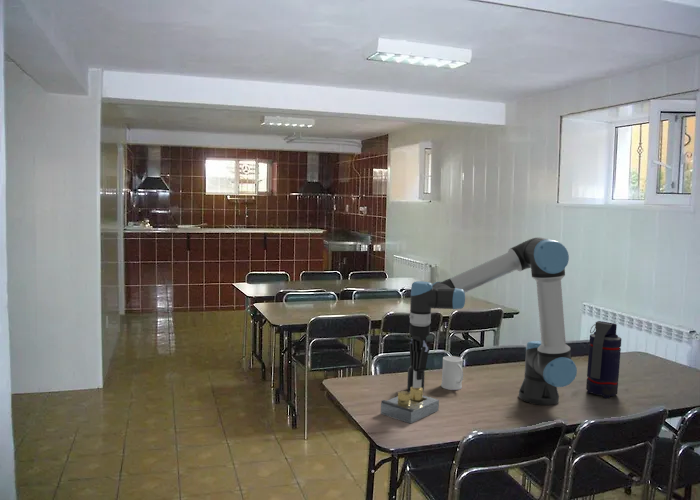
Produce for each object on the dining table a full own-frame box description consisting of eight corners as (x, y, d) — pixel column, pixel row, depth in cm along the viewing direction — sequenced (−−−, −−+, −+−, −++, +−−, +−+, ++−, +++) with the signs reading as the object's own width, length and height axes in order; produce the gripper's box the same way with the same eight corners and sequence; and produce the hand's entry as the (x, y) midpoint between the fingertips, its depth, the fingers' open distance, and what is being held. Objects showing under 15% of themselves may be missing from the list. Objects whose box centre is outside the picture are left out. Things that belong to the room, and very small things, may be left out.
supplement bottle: (426, 389, 239) (427, 360, 238) (420, 394, 233) (422, 364, 232) (410, 386, 242) (411, 358, 241) (404, 391, 236) (405, 362, 235)
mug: (469, 391, 238) (471, 363, 237) (450, 393, 235) (452, 364, 234) (455, 383, 249) (456, 355, 248) (437, 384, 246) (438, 356, 245)
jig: (438, 410, 215) (439, 389, 214) (410, 423, 201) (411, 401, 201) (409, 401, 223) (410, 381, 223) (380, 413, 210) (381, 392, 209)
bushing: (424, 409, 216) (425, 388, 215) (417, 412, 212) (418, 391, 212) (413, 406, 219) (414, 385, 218) (406, 409, 215) (407, 388, 215)
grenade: (593, 387, 249) (598, 318, 247) (621, 394, 241) (627, 322, 238) (578, 394, 239) (583, 322, 237) (608, 402, 231) (613, 327, 228)
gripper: (402, 320, 218) (400, 382, 220) (418, 328, 205) (415, 393, 207) (421, 320, 220) (418, 381, 222) (437, 327, 208) (434, 392, 210)
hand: (417, 387), depth 215 cm, fingers closed
